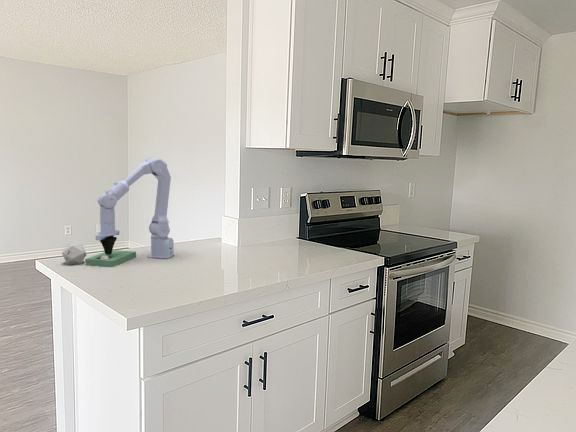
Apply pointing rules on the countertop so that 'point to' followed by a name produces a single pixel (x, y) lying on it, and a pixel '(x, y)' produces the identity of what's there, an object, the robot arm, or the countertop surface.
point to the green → (111, 258)
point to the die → (74, 253)
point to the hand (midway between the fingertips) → (108, 254)
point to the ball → (104, 257)
